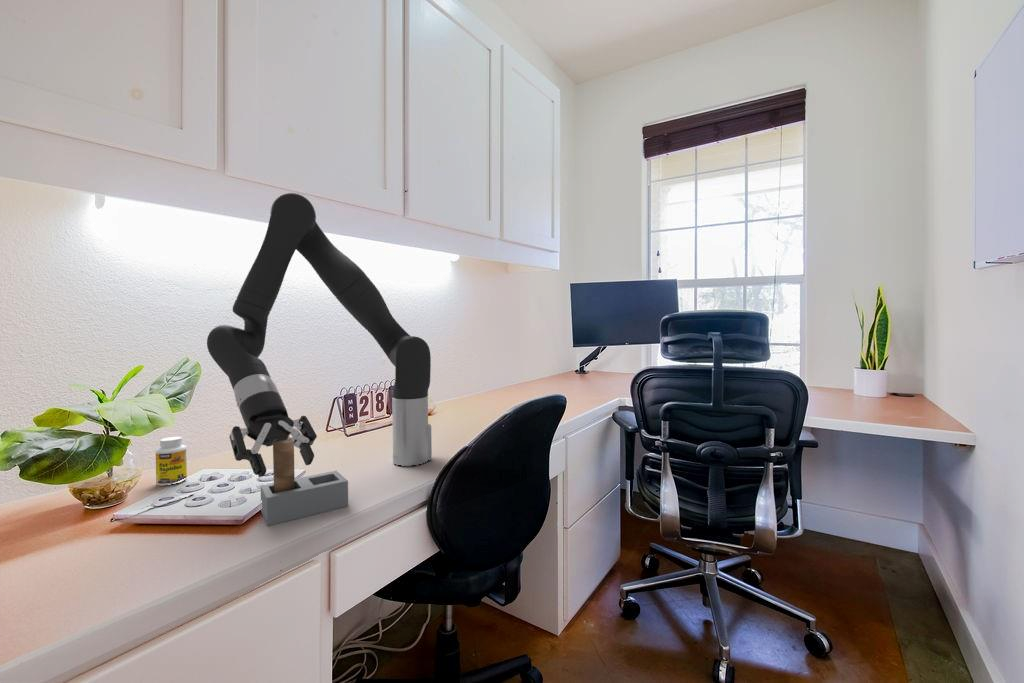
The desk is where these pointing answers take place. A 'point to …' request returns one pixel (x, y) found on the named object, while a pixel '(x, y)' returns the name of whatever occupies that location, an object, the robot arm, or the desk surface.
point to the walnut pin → (283, 465)
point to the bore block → (304, 497)
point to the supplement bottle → (171, 461)
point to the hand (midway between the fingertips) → (287, 468)
